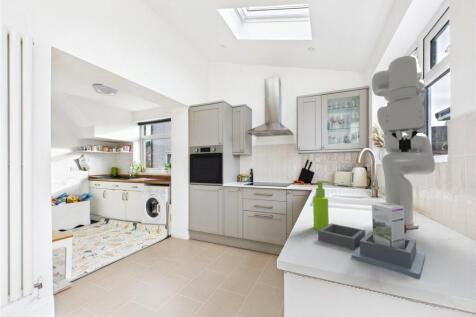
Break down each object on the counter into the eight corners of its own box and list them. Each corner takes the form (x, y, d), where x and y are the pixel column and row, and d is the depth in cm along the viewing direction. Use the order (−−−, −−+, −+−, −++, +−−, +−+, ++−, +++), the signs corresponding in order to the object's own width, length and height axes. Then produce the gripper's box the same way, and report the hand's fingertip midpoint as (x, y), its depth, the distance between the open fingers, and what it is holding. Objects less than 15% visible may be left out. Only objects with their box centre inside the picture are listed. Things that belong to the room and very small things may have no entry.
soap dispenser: (332, 231, 83) (330, 181, 83) (313, 229, 85) (312, 181, 85) (330, 227, 88) (329, 180, 89) (313, 225, 91) (312, 180, 91)
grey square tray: (331, 232, 82) (331, 223, 82) (365, 239, 73) (365, 230, 73) (318, 240, 74) (318, 230, 74) (354, 250, 65) (354, 239, 65)
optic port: (366, 243, 70) (365, 228, 70) (425, 257, 59) (424, 240, 60) (351, 258, 60) (350, 240, 60) (419, 278, 49) (419, 257, 49)
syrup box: (406, 256, 58) (404, 205, 58) (392, 260, 56) (390, 207, 56) (385, 248, 63) (384, 201, 64) (372, 252, 61) (371, 203, 62)
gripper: (435, 93, 65) (437, 151, 64) (379, 103, 75) (380, 153, 75) (434, 87, 59) (436, 150, 59) (373, 99, 70) (375, 152, 70)
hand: (405, 151), depth 67 cm, fingers closed
